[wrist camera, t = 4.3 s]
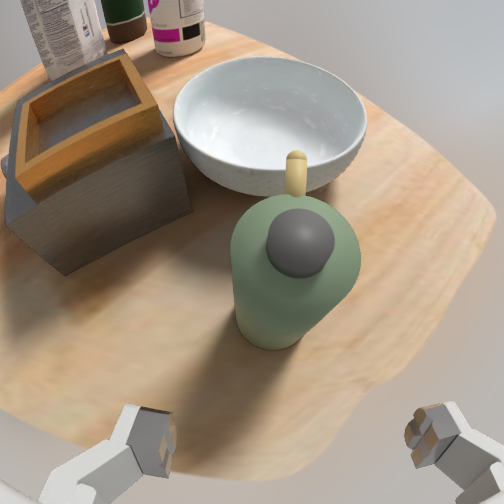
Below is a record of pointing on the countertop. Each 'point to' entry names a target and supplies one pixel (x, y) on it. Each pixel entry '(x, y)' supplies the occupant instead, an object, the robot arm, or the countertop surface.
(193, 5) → the supplement can
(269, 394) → the countertop surface
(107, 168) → the box
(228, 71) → the cereal bowl
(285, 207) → the oil can
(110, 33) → the beer bottle
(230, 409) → the countertop surface
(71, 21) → the juice carton
